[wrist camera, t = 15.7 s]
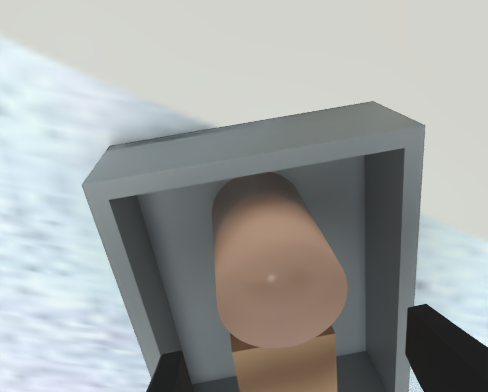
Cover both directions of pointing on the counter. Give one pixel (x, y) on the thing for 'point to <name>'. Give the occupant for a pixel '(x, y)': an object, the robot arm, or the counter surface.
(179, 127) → the counter surface
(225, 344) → the tote
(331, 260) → the terracotta cylinder
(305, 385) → the walnut cube
